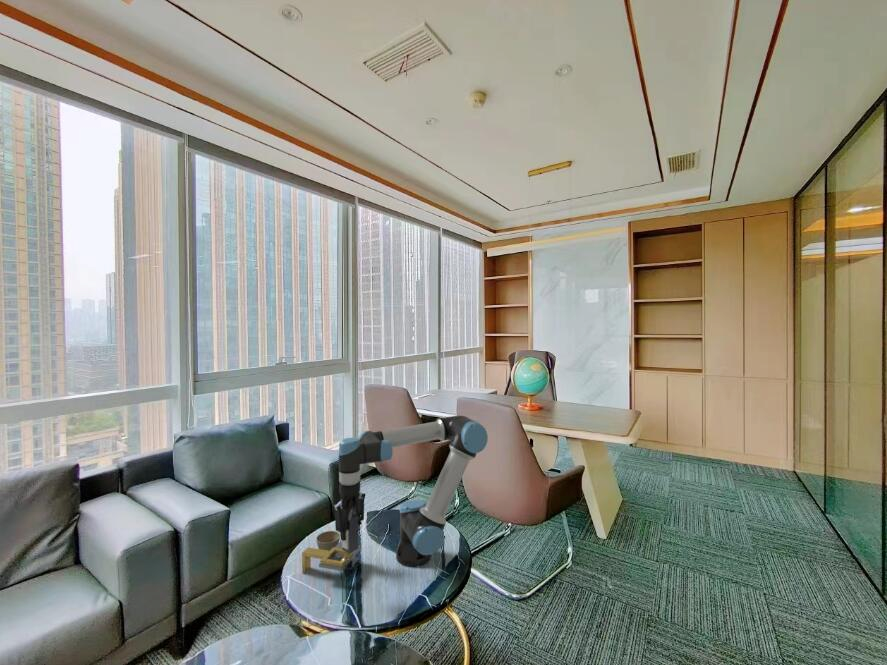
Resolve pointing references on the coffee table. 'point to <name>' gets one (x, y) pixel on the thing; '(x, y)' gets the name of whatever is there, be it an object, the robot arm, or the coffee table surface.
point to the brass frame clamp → (326, 556)
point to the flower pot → (328, 540)
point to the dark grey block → (352, 533)
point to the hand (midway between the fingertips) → (350, 544)
